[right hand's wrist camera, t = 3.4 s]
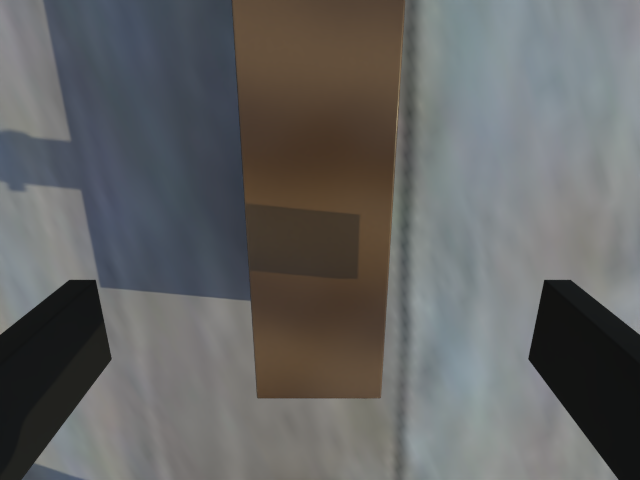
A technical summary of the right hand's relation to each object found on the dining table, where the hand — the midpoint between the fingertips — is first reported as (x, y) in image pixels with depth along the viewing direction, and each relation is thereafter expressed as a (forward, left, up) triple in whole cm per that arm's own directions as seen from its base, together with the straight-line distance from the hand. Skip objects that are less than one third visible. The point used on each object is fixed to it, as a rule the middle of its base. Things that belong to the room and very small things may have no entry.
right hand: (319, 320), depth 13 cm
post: (+16, +27, -13) cm, 34 cm away
